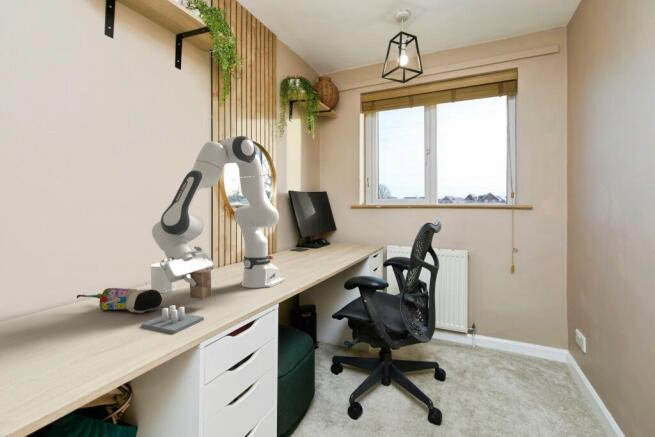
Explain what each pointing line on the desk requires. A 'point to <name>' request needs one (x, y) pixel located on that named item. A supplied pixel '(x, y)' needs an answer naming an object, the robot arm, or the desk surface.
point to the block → (201, 284)
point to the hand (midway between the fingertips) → (201, 283)
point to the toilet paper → (160, 280)
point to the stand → (172, 320)
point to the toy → (128, 299)
